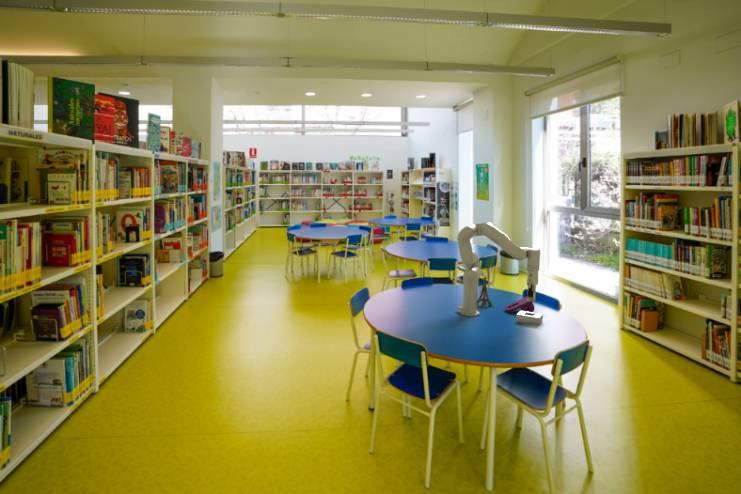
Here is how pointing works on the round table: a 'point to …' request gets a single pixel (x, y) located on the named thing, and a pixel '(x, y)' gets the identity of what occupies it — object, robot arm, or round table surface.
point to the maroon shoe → (520, 306)
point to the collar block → (529, 318)
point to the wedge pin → (533, 295)
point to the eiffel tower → (484, 292)
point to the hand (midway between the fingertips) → (531, 295)
